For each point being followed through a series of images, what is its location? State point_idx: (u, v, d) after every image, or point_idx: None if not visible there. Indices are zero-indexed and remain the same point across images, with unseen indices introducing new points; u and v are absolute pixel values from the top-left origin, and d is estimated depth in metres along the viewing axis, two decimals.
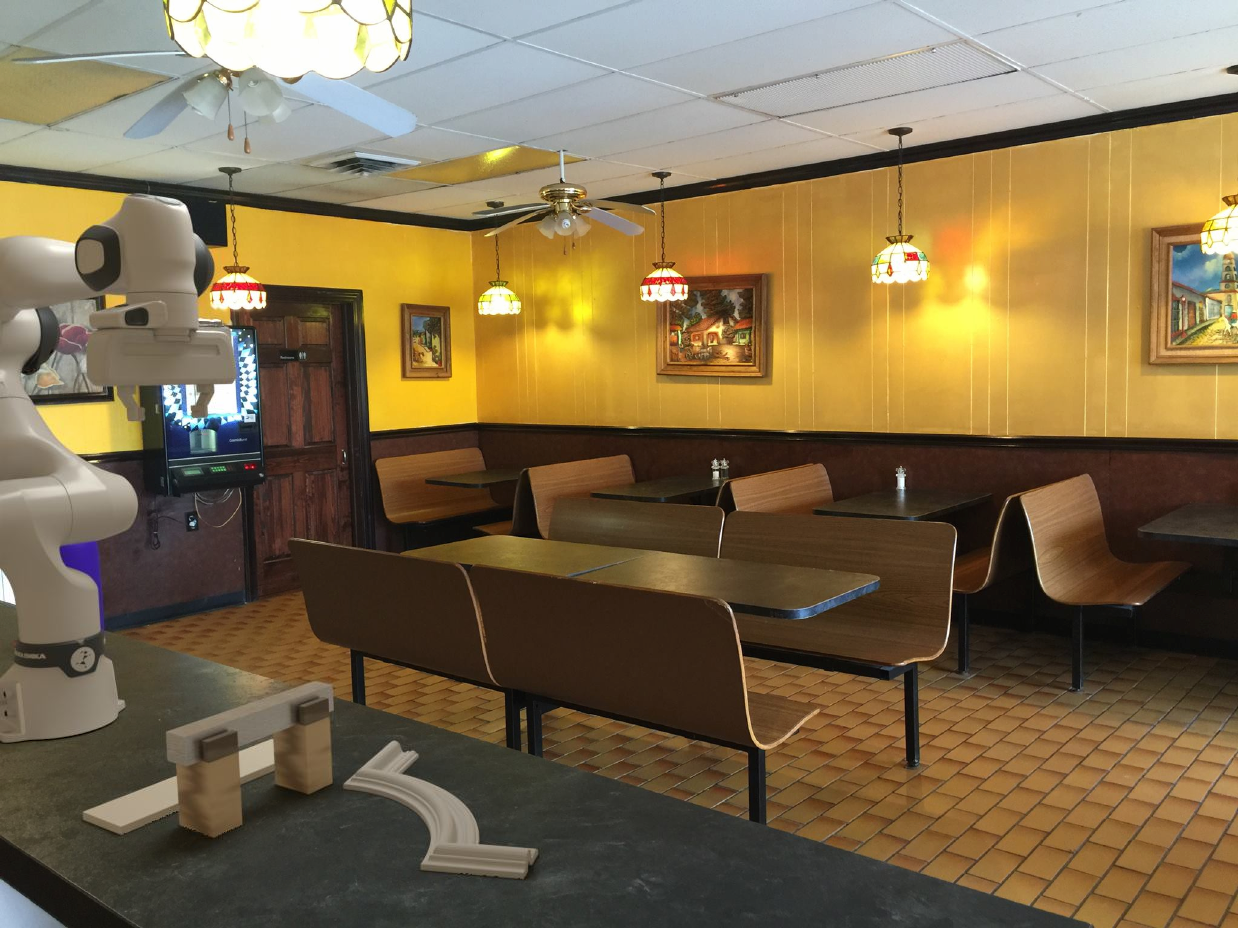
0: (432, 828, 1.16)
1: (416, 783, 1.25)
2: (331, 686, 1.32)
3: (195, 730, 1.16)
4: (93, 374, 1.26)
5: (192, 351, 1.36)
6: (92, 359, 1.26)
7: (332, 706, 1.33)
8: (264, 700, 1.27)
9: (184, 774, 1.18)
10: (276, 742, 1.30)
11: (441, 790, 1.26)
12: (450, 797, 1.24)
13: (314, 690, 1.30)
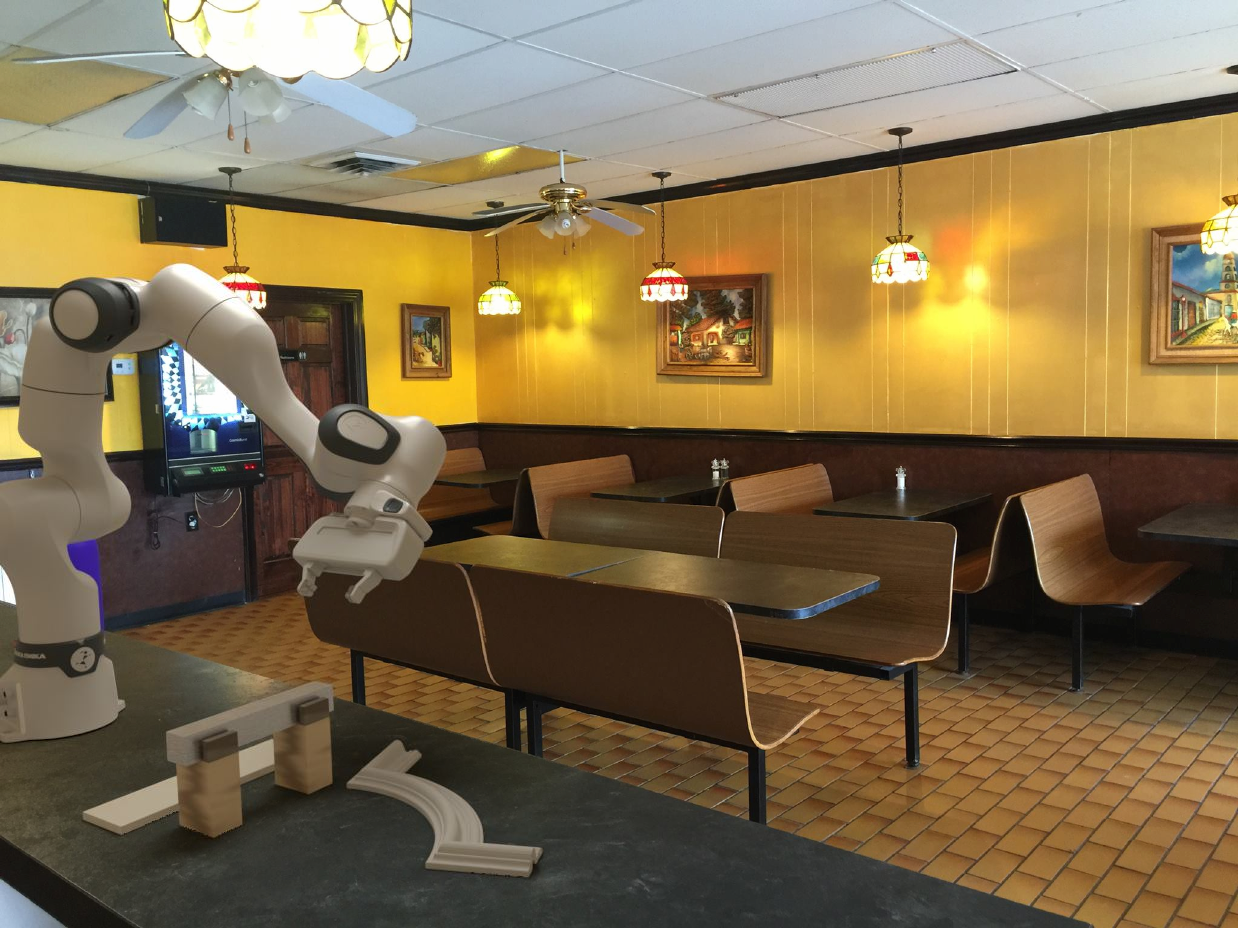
0: (436, 826, 1.16)
1: (420, 782, 1.26)
2: (331, 686, 1.32)
3: (195, 730, 1.16)
4: (402, 564, 1.31)
5: None
6: (407, 551, 1.32)
7: (332, 706, 1.33)
8: (264, 700, 1.27)
9: (184, 774, 1.18)
10: (276, 742, 1.30)
11: (445, 789, 1.26)
12: (454, 796, 1.24)
13: (314, 690, 1.30)
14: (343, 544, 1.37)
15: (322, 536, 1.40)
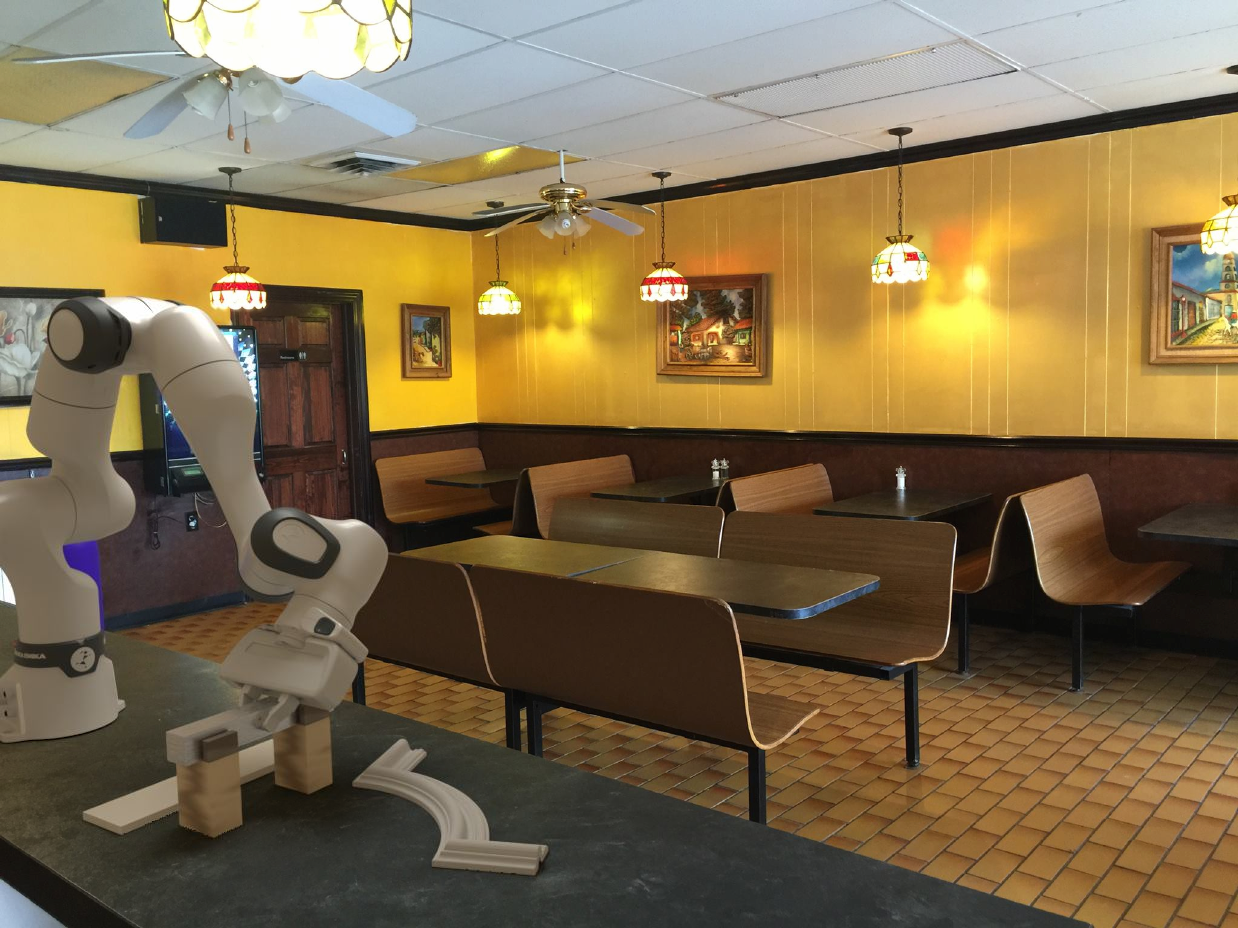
0: (442, 824, 1.17)
1: (425, 780, 1.26)
2: None
3: (195, 730, 1.16)
4: (332, 694, 1.22)
5: None
6: (338, 679, 1.23)
7: None
8: (264, 700, 1.27)
9: (184, 774, 1.18)
10: (276, 742, 1.30)
11: (450, 787, 1.27)
12: (460, 794, 1.25)
13: None
14: (271, 666, 1.27)
15: (250, 654, 1.30)
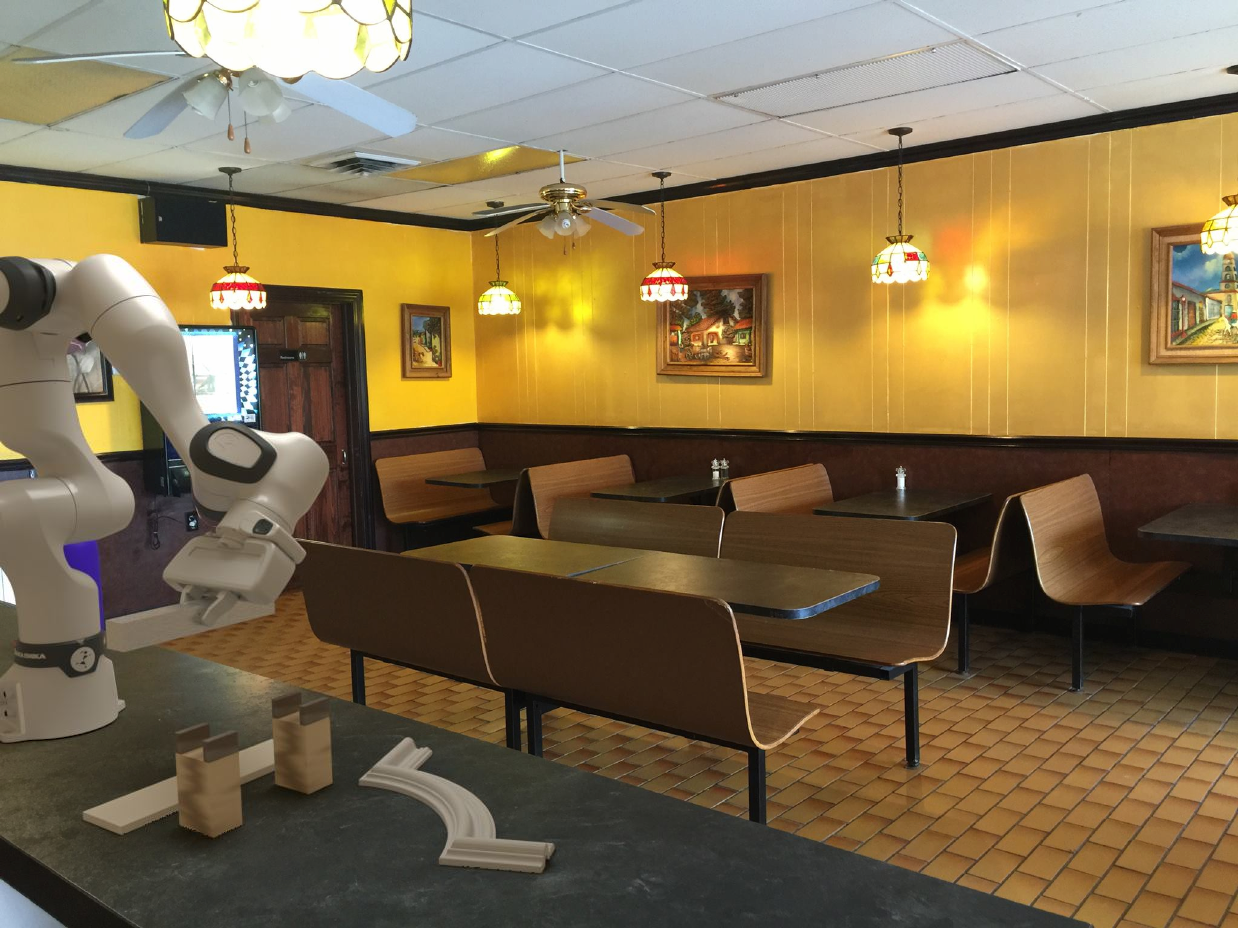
0: (449, 822, 1.17)
1: (432, 779, 1.26)
2: None
3: (134, 619, 1.21)
4: (268, 589, 1.26)
5: None
6: (274, 575, 1.27)
7: (273, 609, 1.37)
8: (205, 598, 1.31)
9: (184, 774, 1.18)
10: (276, 742, 1.30)
11: (456, 786, 1.27)
12: (466, 792, 1.25)
13: None
14: (211, 566, 1.32)
15: (193, 557, 1.35)
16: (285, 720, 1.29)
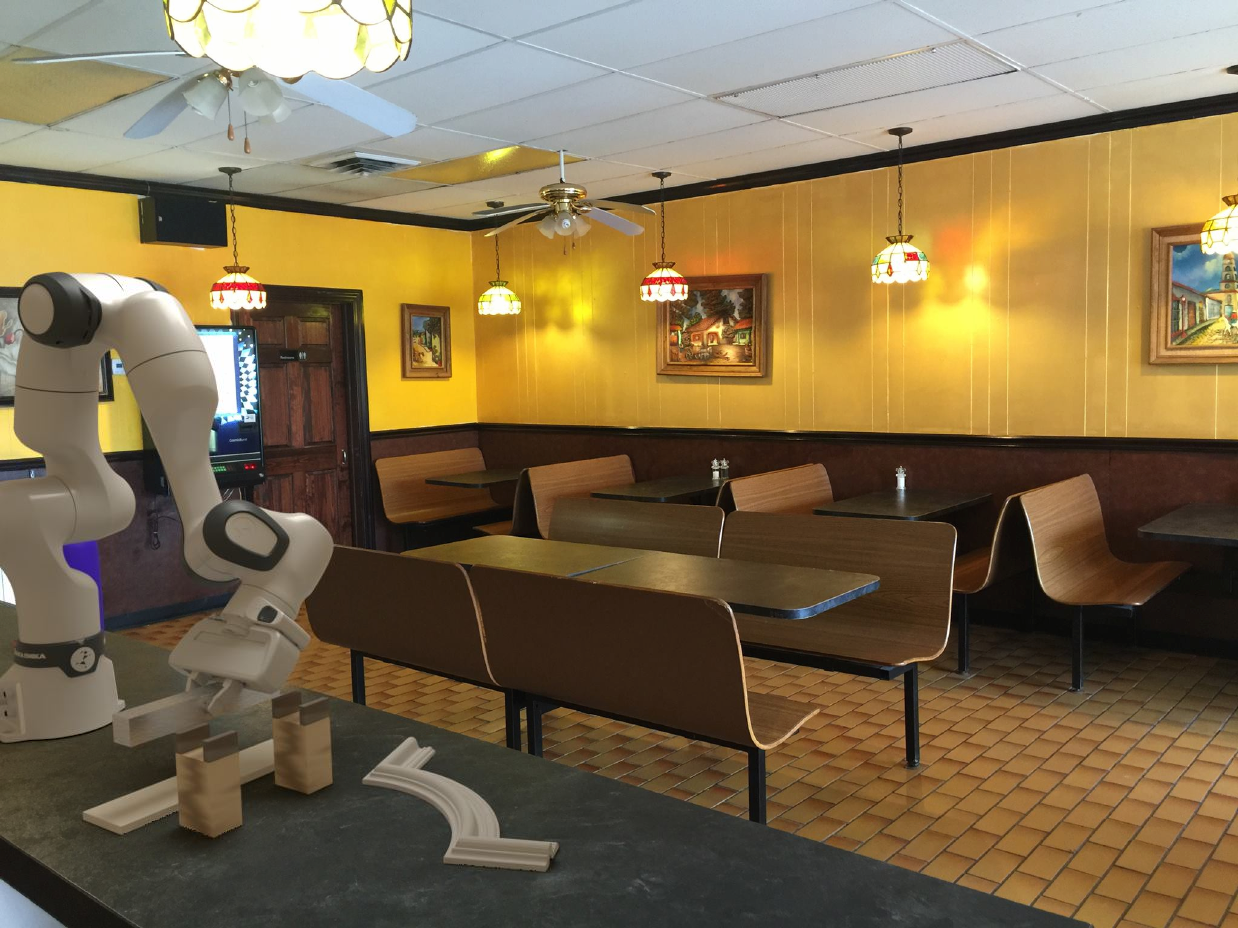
0: (453, 822, 1.18)
1: (435, 778, 1.27)
2: None
3: (140, 712, 1.22)
4: (273, 678, 1.27)
5: None
6: (279, 664, 1.28)
7: (278, 692, 1.38)
8: (210, 685, 1.32)
9: (184, 774, 1.18)
10: (276, 742, 1.30)
11: (460, 785, 1.28)
12: (469, 792, 1.25)
13: None
14: (217, 653, 1.33)
15: (198, 642, 1.36)
16: (285, 720, 1.29)
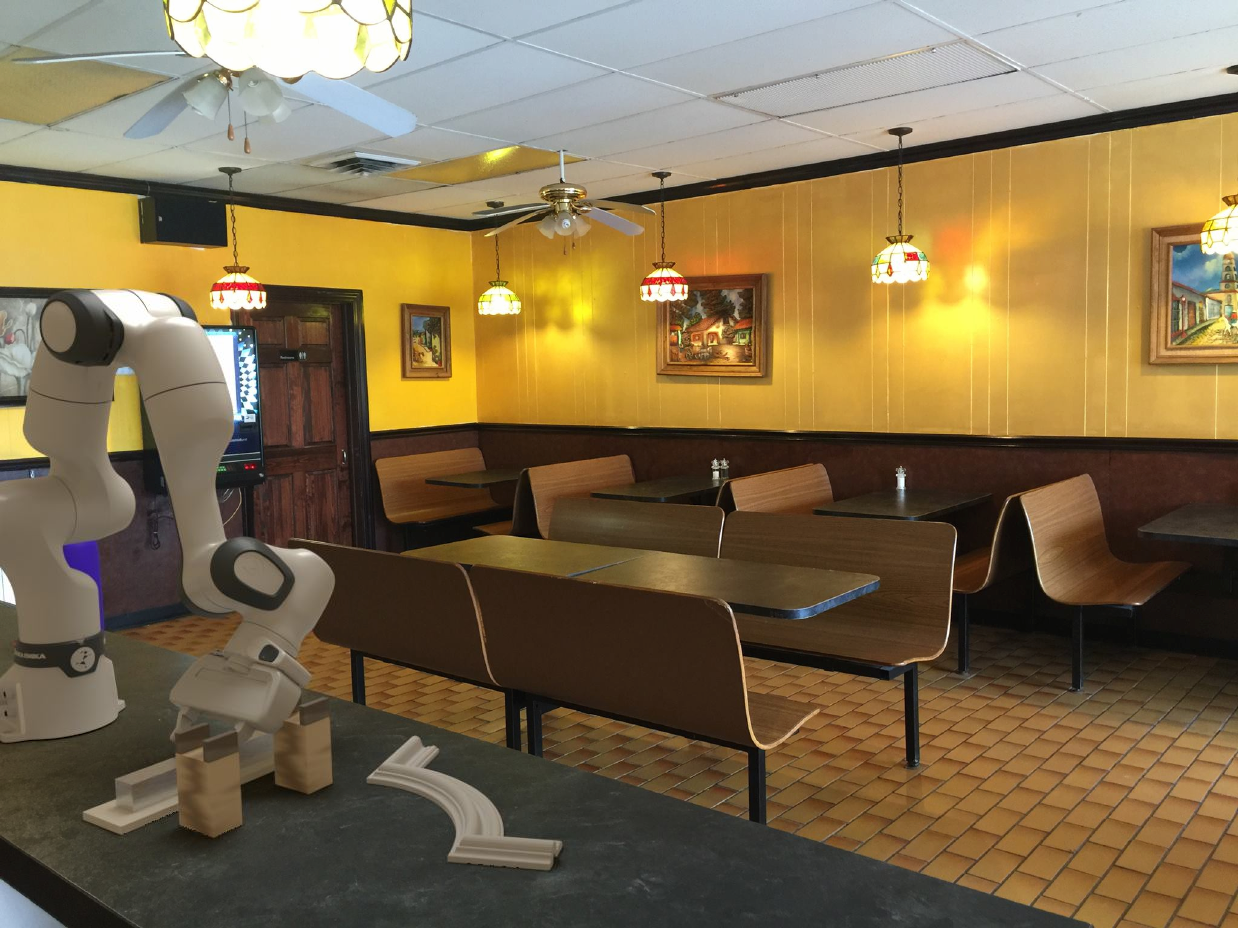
0: (457, 820, 1.18)
1: (439, 777, 1.27)
2: None
3: (143, 777, 1.23)
4: (274, 718, 1.28)
5: None
6: (280, 704, 1.29)
7: None
8: None
9: (184, 774, 1.18)
10: (276, 742, 1.30)
11: (464, 784, 1.28)
12: (473, 791, 1.26)
13: (262, 734, 1.37)
14: (218, 691, 1.33)
15: (199, 679, 1.36)
16: (285, 720, 1.29)
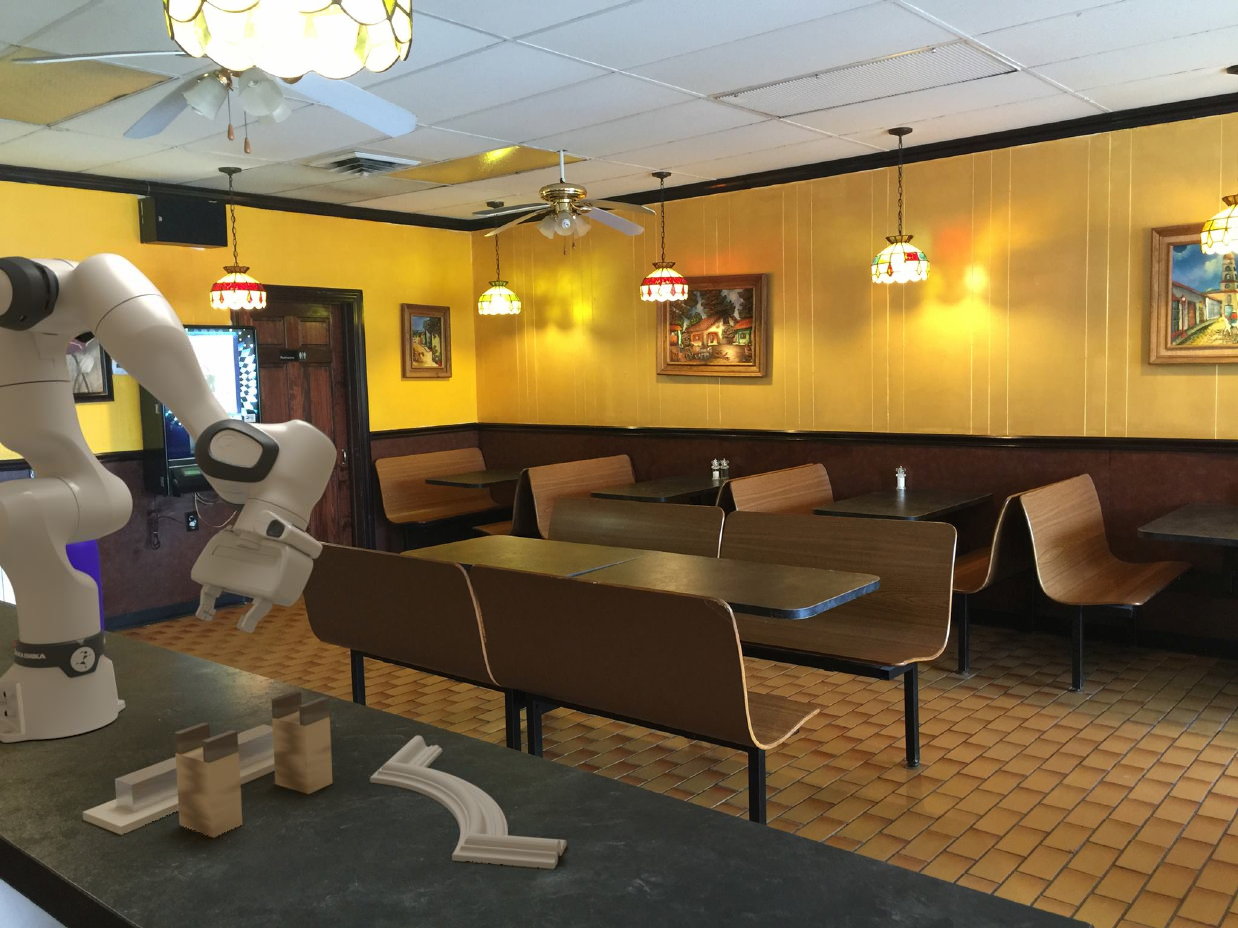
0: (461, 819, 1.18)
1: (443, 776, 1.27)
2: None
3: (143, 777, 1.23)
4: (288, 592, 1.29)
5: None
6: (292, 578, 1.30)
7: None
8: None
9: (184, 774, 1.18)
10: (276, 742, 1.30)
11: (467, 783, 1.28)
12: (477, 790, 1.26)
13: (262, 734, 1.37)
14: (234, 568, 1.35)
15: (216, 557, 1.38)
16: (285, 720, 1.29)
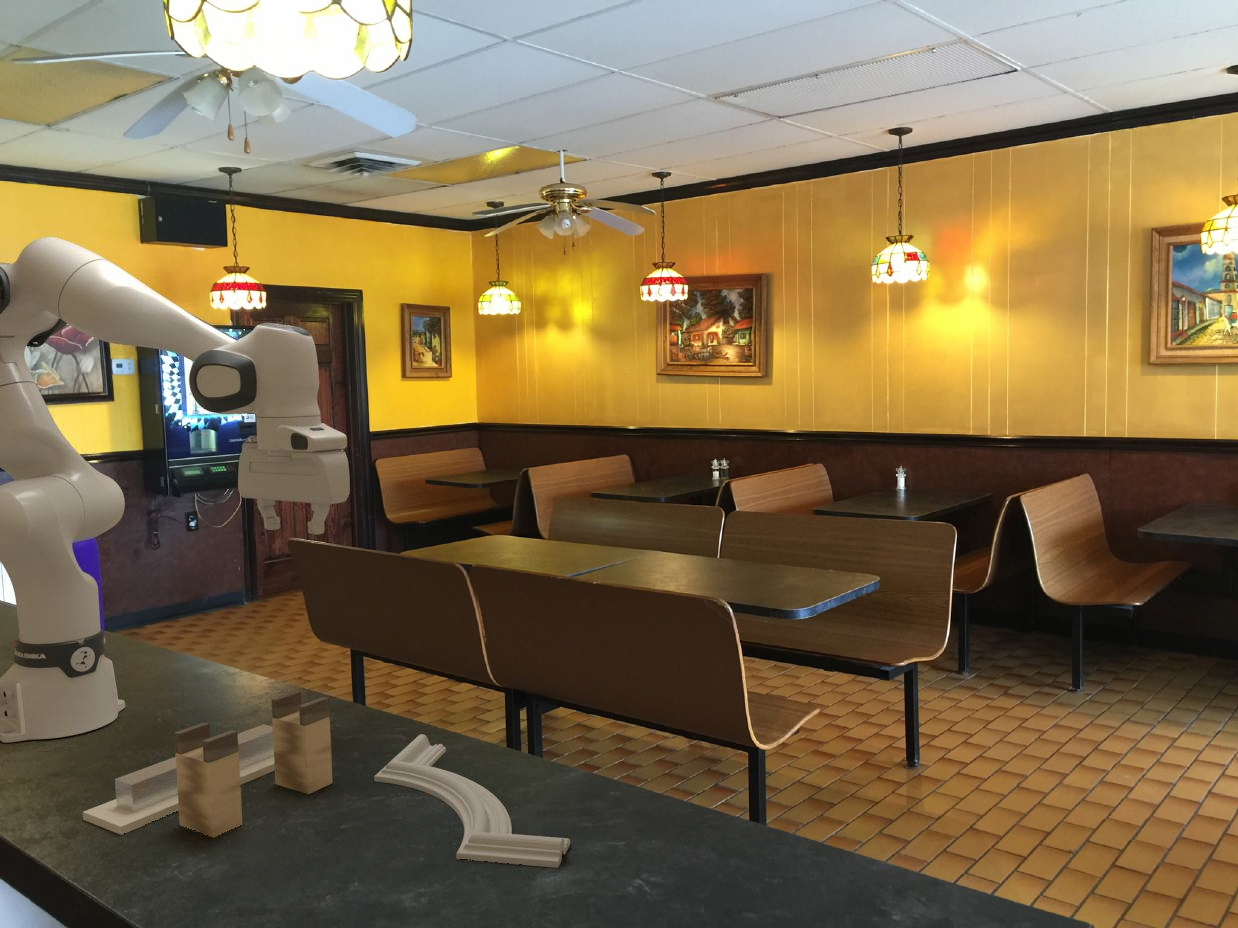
0: (465, 818, 1.18)
1: (447, 775, 1.28)
2: None
3: (143, 777, 1.23)
4: (339, 492, 1.39)
5: None
6: (337, 479, 1.38)
7: None
8: None
9: (184, 774, 1.18)
10: (276, 742, 1.30)
11: (471, 782, 1.28)
12: (481, 789, 1.26)
13: (262, 734, 1.37)
14: (277, 482, 1.43)
15: (255, 473, 1.45)
16: (285, 720, 1.29)
